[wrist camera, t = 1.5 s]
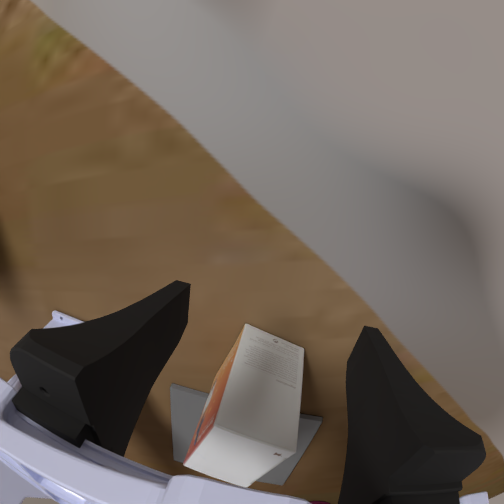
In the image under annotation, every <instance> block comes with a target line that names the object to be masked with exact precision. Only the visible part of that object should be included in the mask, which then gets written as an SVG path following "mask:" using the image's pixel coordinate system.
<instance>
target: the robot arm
mask: <svg viewBox="0 0 504 504" xmlns="http://www.w3.org/2000/svg"><path fill="white" fill-rule="evenodd" d="M190 285H191V284H189V283H185V282H181V281H178V280H176V281H174V282H173V283H171V284H169V285H167V286H166V287H164V288H162V289H160V290H159V291H157V292H155V293H153V294H152V295H150V296H148V297H146V298H144V299H143V300H141V301H139V302H137V303H134V304H132V305H130V306H128V307H126V308H124V309H122V310H120V311H117V312H115V313H112V314H109V315H107V316H104V317H101V318H97V319H94V320H90V321H86V322H83V321H81V320H78V319H76V318H73V317H71V316H68V315H66V314H63V313H61V312H58V311H56V310H54V311H53V312H52V316H53V319H52V320H51V321H50V322H49V323H48V324H47V325H46V326H45V327H44V328H43V329H31V330H30V331H29V332H28V333H27V334H26V335H25V336H24V337H23V338H22V339H21V340H20V341H19V342H18V343H17V344H16V345H15V346H14V347H13V348H12V349H11V351H10V359H11V363H12V365H13V368H14V370H15V372H16V375H14V376H13V377H12V378H11V379H10V380H9V381H8V382H6V381H4V380H3V379H2V378H0V504H21V503H22V502H23V500H24V499H25V498H26V497H35V498H49V499H53V500H55V501H56V502H58V503H59V504H312V503H310V502H308V501H307V500H305V499H301V498H297V497H293V496H288V495H282V494H275V493H270V492H264V491H259V490H254V489H249V488H245V487H240V486H236V485H231V484H227V483H223V482H219V481H216V480H212V479H208V478H204V477H199V476H194V475H176V476H171V475H168V474H165V473H162V472H160V471H157V470H154V469H152V468H149V467H146V466H144V465H141V464H139V463H136V462H134V461H131V460H129V459H127V458H124V454H125V451H126V448H127V446H128V443H129V440H130V437H131V435H132V432H133V430H134V427H135V424H136V422H137V420H138V417H139V415H140V412H141V410H142V408H143V405H144V403H145V401H146V399H147V397H148V394H149V392H150V390H151V388H152V386H153V384H154V382H155V380H156V379H157V377H158V376H159V374H160V372H161V371H162V369H163V367H164V366H165V364H166V363H167V361H168V359H169V358H170V356H171V355H172V353H173V351H174V350H175V348H176V346H177V345H178V343H179V341H180V339H181V337H182V335H183V332H184V330H185V328H186V325H187V323H188V310H189V297H190ZM346 394H347V411H348V444H347V454H346V462H345V469H344V476H343V481H342V487H341V492H340V497H339V501H338V504H489V500H488V495H487V492H480V493H475V494H469V495H465V496H462V497H460V498H459V494H458V491H460V490H462V480H463V479H465V478H466V477H467V476H468V475H470V474H471V473H472V472H473V471H475V470H476V469H477V468H478V467H479V466H480V465H481V464H482V462H483V461H484V459H485V457H486V452H485V448H484V444H483V441H482V437H481V436H480V435H479V434H477V433H475V432H474V431H472V430H471V429H469V428H467V427H466V426H464V425H463V424H461V423H460V422H459V421H457V420H456V419H455V418H453V417H452V416H451V415H449V414H448V413H447V412H446V411H444V410H443V409H442V408H441V407H440V406H439V405H438V404H437V403H436V402H435V401H433V400H432V399H431V398H430V397H429V396H428V394H427V393H426V392H425V391H424V390H423V389H422V388H421V387H420V386H419V385H418V383H417V382H416V381H415V380H414V379H413V377H412V376H411V375H410V373H409V372H408V371H407V370H406V368H405V367H404V365H403V364H402V363H401V361H400V360H399V358H398V357H397V356H396V354H395V353H394V351H393V350H392V348H391V347H390V345H389V344H388V342H387V341H386V339H385V338H384V336H383V335H382V333H381V332H380V331H379V329H378V328H373V327H368V326H364V327H363V330H362V332H361V334H360V336H359V338H358V340H357V342H356V344H355V347H354V349H353V351H352V353H351V355H350V357H349V359H348V361H347V371H346Z"/></svg>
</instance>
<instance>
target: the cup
mask: <svg viewBox="0 0 504 504" xmlns="http://www.w3.org/2000/svg"><path fill="white" fill-rule="evenodd" d="M310 503H312V504H330V503H328V502H323V501H312V502H310Z"/></svg>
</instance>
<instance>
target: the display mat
mask: <svg viewBox="0 0 504 504" xmlns="http://www.w3.org/2000/svg"><path fill="white" fill-rule="evenodd" d="M208 396H209V394H208V393H204V392H200V391H197V390H193V389H190V388H186V387H183V386H180V385H176V384H173V383H172V385H171V387H170V397H171V422H172V440H173V455H174V460H175V461H178V462H181V463H184V460H185V457H186V455H187V452H188V449H189V447H190V444H191V441H192V438H193V436H194V433H195V430H196V428H197V425H198V423H199V420H200V417H201V415H202V412H203V409H204V406H205V403H206V401H207V398H208ZM321 423H322V417H318V416H312V415H305V414H300V416H299V427H298V438H297V448H296V453H295V454H293V455H292V456H290V457H289V458H287V459H285V460H284V461H283V462H281V463H280V464H278V465H277V466H276V467H274V468H273V469H271V470H270V471H269V472H267V473H266V474H264V475H263V476H262V477H260V478H259V479H257V480H256V481H259V482H265V483H271V484H277V485H283V484H284V482H285V481H286V479H287V478H288V476H289V475H290V473H291V472H292V470H293V469H294V467H295V466H296V464H297V463H298V461H299V460H300V458H301V456H302V455H303V453H304V452H305V450H306V448H307V447H308V445H309V443H310V442H311V440H312V438H313V437H314V435H315V433H316V432H317V430H318V428H319V427H320V425H321Z"/></svg>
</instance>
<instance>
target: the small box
mask: <svg viewBox="0 0 504 504" xmlns="http://www.w3.org/2000/svg"><path fill="white" fill-rule="evenodd" d="M303 365H304V348H302V347H300V346H297V345H295V344H293V343H290V342H288V341H286V340H283V339H281V338H278V337H276V336H274V335H272V334H269V333H267V332H265V331H262V330H260V329H258V328H256V327H253V326H251V325H249V324H245V325H244V327H243V329H242V331H241V333H240V335H239V337H238V338H237V340H236V342H235V344H234V346H233V347H232V349H231V351H230V352H229V354H228V356H227V357H226V359H225V361H224V362H223V364H222V366H221V367H220V369H219V371H218V372H217V374H216V376H215V379H214V382H213V385H212V387H211V390H210V393H209V396H208V398H207V401H206V403H205V406H204V409H203V412H202V415H201V417H200V420H199V423H198V425H197V428H196V430H195V433H194V436H193V438H192V441H191V444H190V447H189V449H188V452H187V455H186V457H185V460H184V463H183V465H184V466H186V467H188V468H191V469H193V470H196V471H198V472H201V473H204V474H206V475H209V476H212V477H215V478H218V479H221V480H223V481H226V482H230V483H233V484H236V485H239V486H242V487H248V486H250V485H251V484H252V483H253V482H255V481H256V480H257V479H259V478H260V477H262V476H263V475H264V474H266V473H267V472H269V471H270V470H271V469H273V468H274V467H276V466H277V465H278V464H280V463H281V462H283V461H284V460H285V459H287V458H289V457H290V456H292V455H293V454H295V453H296V448H297V438H298V427H299V416H300V405H301V394H302V379H303Z"/></svg>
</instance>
